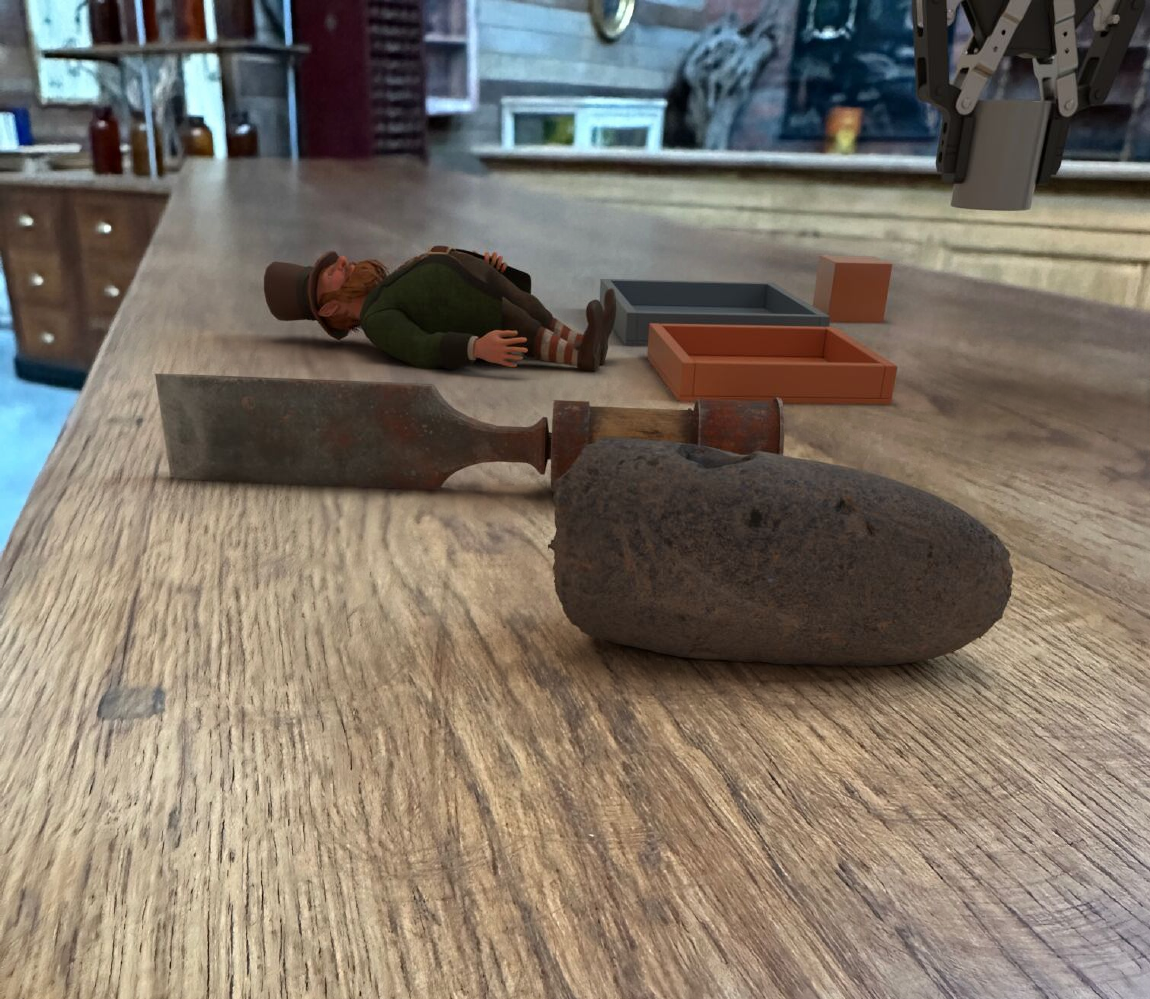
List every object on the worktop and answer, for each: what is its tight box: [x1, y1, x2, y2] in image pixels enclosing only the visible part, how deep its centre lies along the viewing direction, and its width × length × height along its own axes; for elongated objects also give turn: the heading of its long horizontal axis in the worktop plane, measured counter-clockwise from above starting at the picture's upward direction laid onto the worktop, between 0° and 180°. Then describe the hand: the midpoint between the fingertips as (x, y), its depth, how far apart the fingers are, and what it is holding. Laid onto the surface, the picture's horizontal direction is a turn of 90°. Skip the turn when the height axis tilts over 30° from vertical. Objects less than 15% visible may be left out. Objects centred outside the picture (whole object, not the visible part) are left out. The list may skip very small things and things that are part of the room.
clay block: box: [812, 254, 893, 324], centre depth 99 cm, size 5×5×5 cm
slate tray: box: [599, 278, 831, 347], centre depth 93 cm, size 16×18×3 cm
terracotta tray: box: [646, 323, 898, 405], centre depth 76 cm, size 14×14×3 cm
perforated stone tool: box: [547, 437, 1014, 667], centre depth 37 cm, size 15×5×7 cm, turn 81°
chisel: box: [154, 372, 785, 492], centre depth 52 cm, size 28×5×5 cm, turn 89°
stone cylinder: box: [949, 99, 1052, 212], centre depth 72 cm, size 5×5×6 cm
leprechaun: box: [263, 245, 616, 373], centre depth 79 cm, size 11×10×25 cm
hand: (994, 182), depth 73 cm, fingers closed on stone cylinder, 5 cm apart
